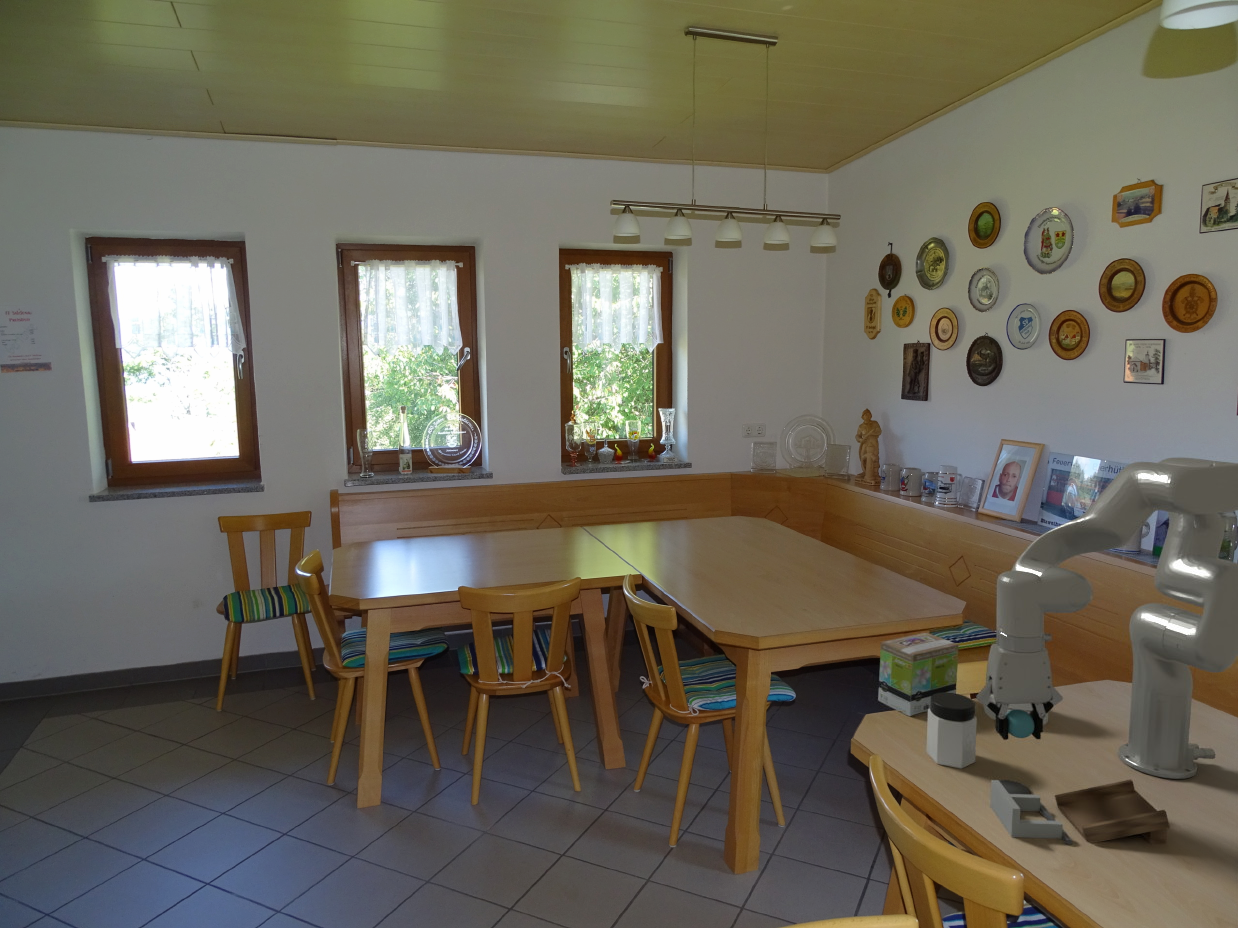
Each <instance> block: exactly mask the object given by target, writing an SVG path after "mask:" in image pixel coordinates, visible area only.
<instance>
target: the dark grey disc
mask: <svg viewBox="0 0 1238 928" xmlns="http://www.w3.org/2000/svg"><path fill="white" fill-rule="evenodd" d="M998 780H999V782H1000V783H1001V784H1002V786H1003V787H1004V788H1005V789H1006V791H1007V792H1008V793H1009V794H1027V795H1033V792H1032V790H1031V789H1030V788H1029V787H1028V786H1026V785H1025V784H1024V783H1022V782H1018V781H1015V780H1011V779H998Z"/></svg>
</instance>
